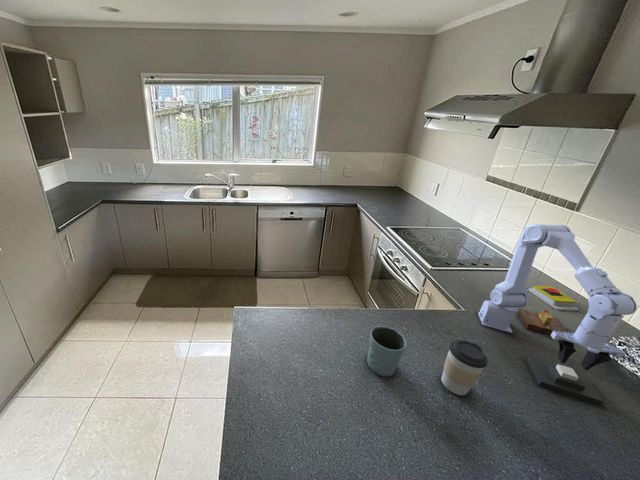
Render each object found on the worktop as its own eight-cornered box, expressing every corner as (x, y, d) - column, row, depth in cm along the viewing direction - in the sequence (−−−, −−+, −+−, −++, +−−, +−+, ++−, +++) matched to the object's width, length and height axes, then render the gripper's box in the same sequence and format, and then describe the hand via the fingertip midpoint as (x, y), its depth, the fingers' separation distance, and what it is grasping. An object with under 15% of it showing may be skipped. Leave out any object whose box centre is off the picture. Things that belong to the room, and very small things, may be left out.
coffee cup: (455, 402, 80) (473, 364, 75) (430, 375, 88) (444, 339, 83) (479, 394, 83) (498, 357, 77) (452, 369, 91) (467, 333, 85)
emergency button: (550, 282, 133) (584, 302, 119) (546, 289, 134) (579, 310, 120) (530, 281, 133) (562, 301, 119) (526, 289, 134) (557, 310, 120)
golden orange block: (548, 325, 108) (553, 317, 106) (543, 324, 108) (547, 316, 107) (543, 317, 112) (547, 310, 110) (538, 316, 112) (542, 308, 111)
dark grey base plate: (538, 385, 86) (543, 377, 85) (526, 361, 95) (530, 353, 93) (600, 405, 81) (607, 397, 80) (581, 378, 89) (587, 370, 88)
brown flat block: (526, 328, 109) (529, 323, 108) (517, 313, 118) (519, 308, 117) (567, 339, 105) (570, 334, 104) (554, 322, 113) (557, 317, 112)
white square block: (560, 376, 86) (563, 372, 85) (554, 367, 89) (557, 363, 88) (576, 381, 84) (578, 377, 84) (569, 372, 88) (572, 368, 87)
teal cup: (402, 367, 91) (411, 339, 86) (388, 385, 85) (397, 356, 80) (373, 347, 98) (380, 321, 93) (358, 363, 92) (364, 335, 87)
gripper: (568, 329, 79) (547, 364, 84) (641, 348, 73) (613, 384, 79) (556, 314, 85) (537, 348, 90) (623, 331, 79) (599, 365, 85)
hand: (572, 363), depth 85 cm, fingers open, 5 cm apart
